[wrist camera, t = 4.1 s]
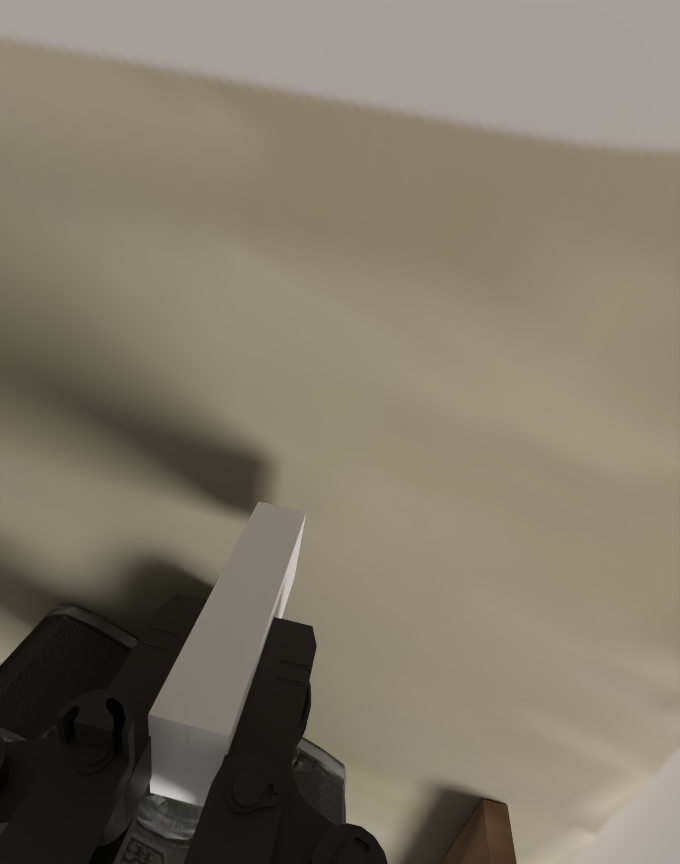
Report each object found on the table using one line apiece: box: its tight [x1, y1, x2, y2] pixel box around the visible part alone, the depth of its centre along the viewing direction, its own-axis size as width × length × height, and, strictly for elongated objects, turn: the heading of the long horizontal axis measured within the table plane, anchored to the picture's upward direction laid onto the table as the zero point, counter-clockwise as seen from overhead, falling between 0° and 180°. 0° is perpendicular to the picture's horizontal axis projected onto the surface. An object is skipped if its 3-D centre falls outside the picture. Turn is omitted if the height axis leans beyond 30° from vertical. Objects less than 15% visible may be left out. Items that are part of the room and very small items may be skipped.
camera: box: [0, 606, 347, 864], centre depth 16 cm, size 18×9×10 cm, turn 53°
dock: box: [440, 799, 517, 864], centre depth 24 cm, size 25×13×4 cm, turn 79°
